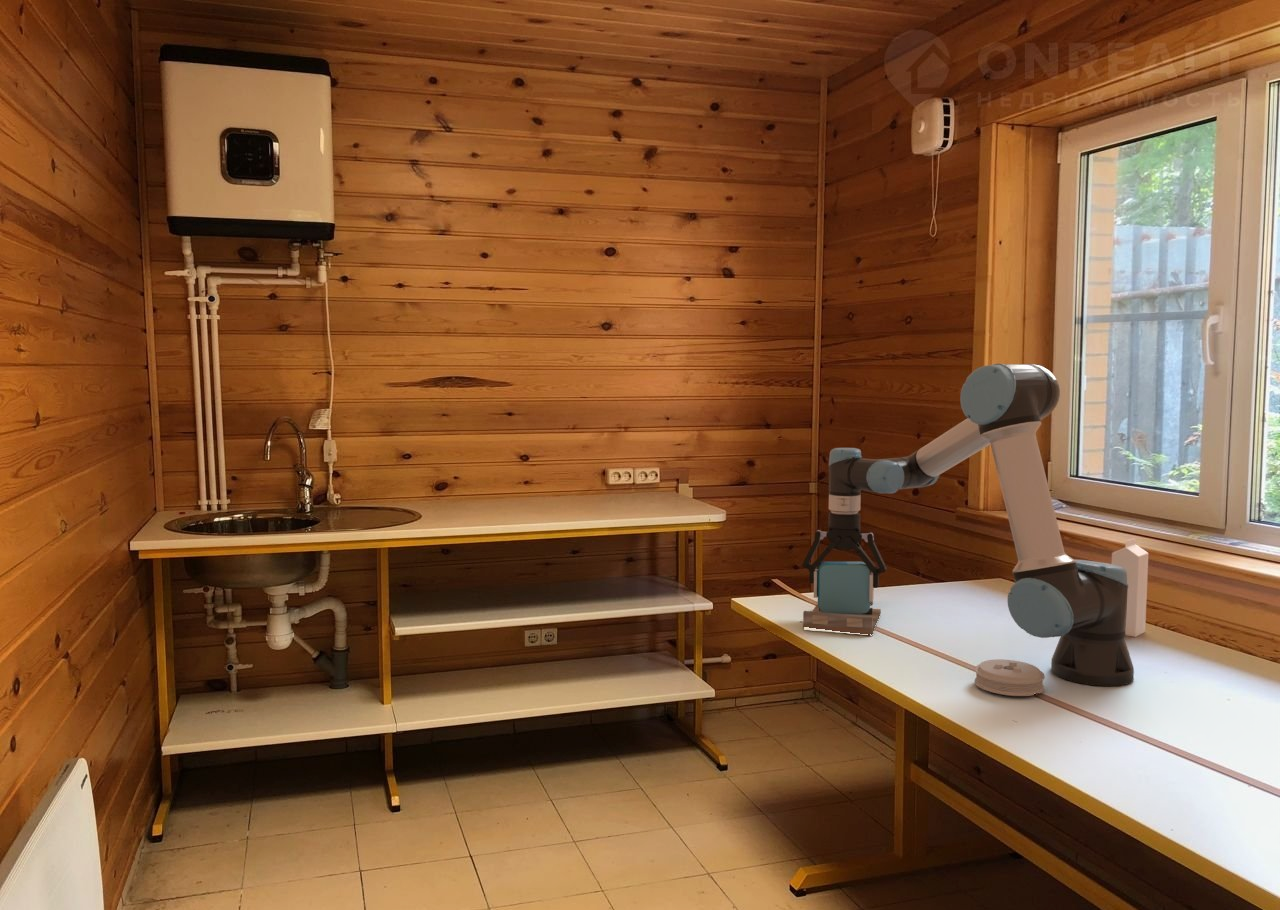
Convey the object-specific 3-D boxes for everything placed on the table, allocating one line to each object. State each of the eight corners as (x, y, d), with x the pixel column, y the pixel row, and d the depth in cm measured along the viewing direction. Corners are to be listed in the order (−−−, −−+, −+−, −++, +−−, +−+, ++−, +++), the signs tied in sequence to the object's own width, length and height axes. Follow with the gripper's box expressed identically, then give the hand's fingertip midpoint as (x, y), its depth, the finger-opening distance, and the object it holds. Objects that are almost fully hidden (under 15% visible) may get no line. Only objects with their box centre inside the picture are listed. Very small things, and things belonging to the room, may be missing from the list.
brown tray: (871, 636, 223) (872, 617, 222) (802, 630, 228) (803, 612, 227) (880, 615, 242) (880, 597, 241) (816, 610, 247) (817, 592, 247)
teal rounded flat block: (866, 609, 237) (866, 561, 235) (870, 613, 232) (870, 565, 231) (817, 609, 237) (817, 561, 236) (820, 614, 233) (820, 565, 231)
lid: (960, 683, 191) (961, 659, 190) (1011, 675, 195) (1012, 651, 195) (1005, 704, 179) (1006, 678, 178) (1058, 695, 183) (1059, 670, 183)
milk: (1145, 632, 225) (1150, 539, 222) (1135, 637, 221) (1140, 542, 218) (1118, 627, 229) (1122, 535, 227) (1107, 632, 225) (1112, 539, 223)
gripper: (790, 511, 233) (790, 598, 235) (895, 516, 225) (894, 605, 227) (796, 507, 240) (795, 591, 242) (898, 511, 232) (897, 598, 234)
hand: (843, 598), depth 234 cm, fingers closed on teal rounded flat block, 13 cm apart
